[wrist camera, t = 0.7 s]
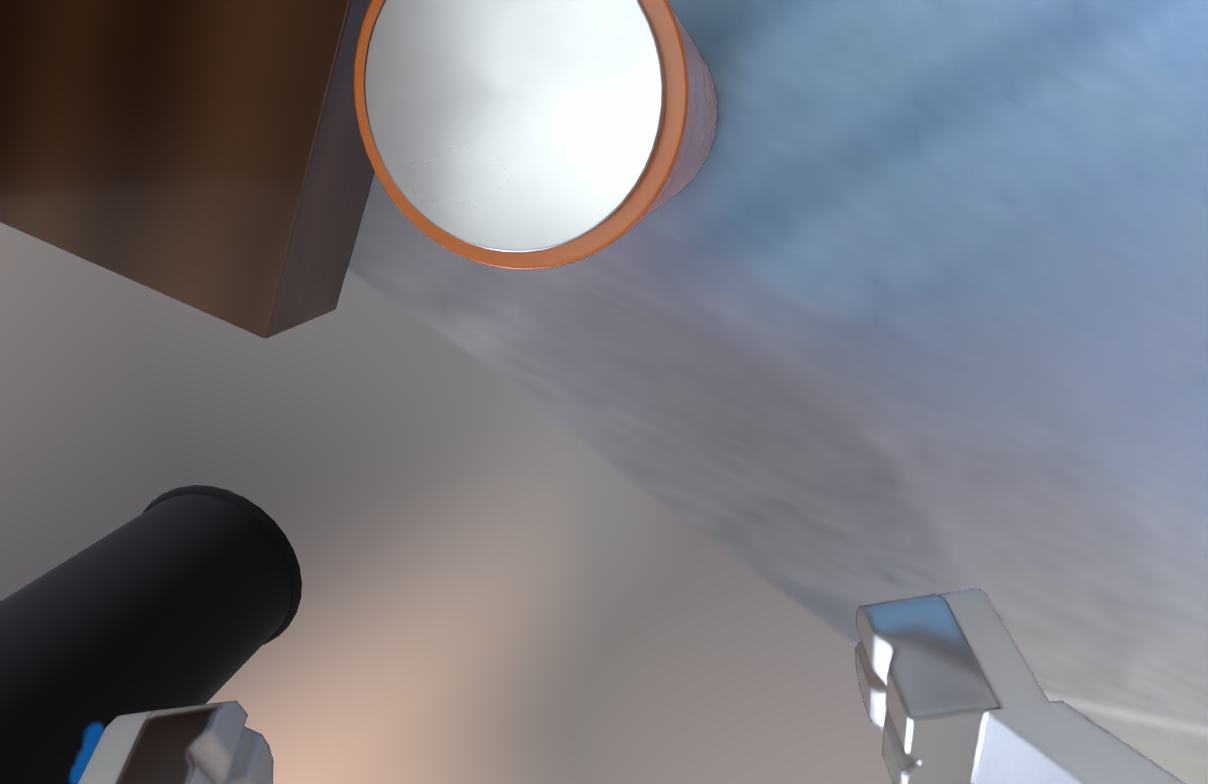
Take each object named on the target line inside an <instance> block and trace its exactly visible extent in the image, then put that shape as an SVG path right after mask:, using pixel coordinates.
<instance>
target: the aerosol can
mask: <svg viewBox="0 0 1208 784" xmlns="http://www.w3.org/2000/svg"><path fill="white" fill-rule="evenodd" d="M301 588H302V580H301V574H300V568H299V564H298V561H297V558H296V555H295V553H294V550H293V548H292V546H291V544H290V543H289V541H288V539H287V537H286V535H285V534H284V533H283V531H282V530H281V529H280V528H279V526H278V525H277V524H276V523H275V521H274V520H273V519H272V518H271V517H269V516H268V515H267V514H266V513H265V512H264V511H263V510H262V509H261V508H259V507H258V506H256V505H255V504H253V503H252V502H250V501H249V500H247V499H246V498H244V497H242V496H240V495H237V494H235V493H233V492H231V491H228V490H224V489H220V488H216V487H212V486H198V485H193V486H187V487H181V488H176V489H174V490H171V491H169V492H166V493H164V494H162V495H161V496H159V497H158V498H157V499H155V500H154V501H152V502H151V503H150V504H149V506H148V507H147V508H146V509H145V511H144V512H143V513H142V514H141V515H140V516H138V517H137V518H135V519H133V520H132V521H130V522H128V523H127V524H125V525H124V526H122V527H120V528H119V529H117V530H115V531H114V532H112V533H110V534H109V535H107V536H106V537H104V538H102V539H101V540H99V541H98V542H96V543H95V544H93V545H91V546H89V547H88V548H86V549H85V550H83V551H81V552H80V553H78V554H77V555H75V556H73V557H72V558H70V559H68V560H67V561H65V562H64V563H62V564H60V565H59V566H57V567H56V568H54V569H52V570H51V571H49V572H47V573H46V574H44V575H43V576H41V577H40V578H38V579H36V580H35V581H33V582H31V583H30V584H28V585H27V586H25V587H23V588H22V589H20V590H18V591H17V592H15V593H13V594H12V595H10V596H9V597H7V598H6V599H4V600H2V601H1V602H0V784H78V782H79V780H80V778H81V776H82V774H83V772H84V770H85V768H86V766H87V764H88V762H89V760H90V758H91V756H92V754H93V752H94V750H95V748H96V746H97V744H98V742H99V740H100V738H101V736H102V734H103V732H104V730H105V728H106V727H107V726H108V725H109V724H110V723H111V722H112V721H113V720H114V719H115V718H116V717H117V716H120V715H127V714H134V713H141V712H148V711H155V710H164V709H172V708H180V707H188V706H196V705H204V704H206V703H207V702H208V701H209V700H210V699H211V698H212V697H213V696H214V695H215V693H216V692H217V691H218V690H219V689H220V688H221V687H222V686H223V685H224V684H225V683H226V682H227V681H228V680H229V679H230V678H231V677H232V676H233V675H234V674H235V673H236V671H238V670H239V669H240V668H241V667H242V665H243V664H244V663H245V662H246V661H247V660H248V659H249V658H250V657H251V656H252V655H253V654H254V653H255V652H256V651H257V650H258V649H259V648H260V647H261V646H262V645H264V644H266V643H268V642H270V641H271V640H273V639H274V638H276V637H278V636H279V635H280V634H281V633H282V632H283V631H284V630H285V629H286V628H287V627H288V626H289V625H290V623H291V621H292V620H293V618H294V616H295V615H296V612H297V609H298V606H299V603H300V599H301Z"/></svg>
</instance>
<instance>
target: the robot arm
mask: <svg viewBox="0 0 1208 784" xmlns="http://www.w3.org/2000/svg"><path fill="white" fill-rule="evenodd" d="M856 626H857V629H858V631H859V634H860V637H861V639H862V641H861V642H860V643H859V644H858V645H857V646H856V647H855V654H856V655H855V657H856V670H857V677H858V683H859V688H860V691H861V695H862V698H863V702H864V705H865V708H866V710H867V713H868V716H869V719H870V721H871V722H872V723H873V724H875V725H876V726H877V727H878V728H880V729H881V730H882V731H883V744H882V755H883V758H884V761H885V764H886V766H887V769H888V772H889V774H890V777H891V780H892V783H893V784H1186V783H1184V782H1183V781H1181V780H1180V779H1178V778H1177V777H1175V776H1174V775H1172V774H1171V773H1169V772H1168V771H1166V770H1165V769H1163V768H1162V767H1160V766H1159V765H1157V764H1156V763H1154V762H1153V761H1151V760H1150V759H1148V758H1147V757H1146V756H1144V755H1143V754H1141V753H1140V752H1138V751H1137V750H1135V749H1134V748H1132V747H1131V746H1129V745H1128V744H1126V743H1125V742H1123V741H1122V740H1120V739H1119V738H1117V737H1116V736H1114V735H1113V734H1111V733H1110V732H1108V731H1107V730H1105V729H1104V728H1102V727H1101V726H1099V725H1098V724H1096V723H1095V722H1093V721H1092V720H1090V719H1089V718H1087V717H1086V716H1084V715H1083V714H1081V713H1080V712H1078V711H1077V710H1075V709H1074V708H1072V707H1071V706H1070V705H1068V704H1067V703H1065V702H1064V701H1051V702H1049V700H1048V699H1047V697H1046V695H1045V694H1044V692H1043V690H1042V688H1041V687H1040V685H1039V683H1038V682H1037V680H1036V678H1035V676H1034V675H1033V673H1032V671H1031V669H1030V668H1029V666H1028V664H1027V663H1026V661H1025V659H1024V657H1023V656H1022V654H1021V652H1020V650H1019V649H1018V647H1017V645H1016V644H1015V642H1014V640H1013V638H1012V637H1011V635H1010V633H1009V631H1008V630H1007V628H1006V626H1005V625H1004V623H1003V621H1002V619H1001V618H1000V616H999V614H998V613H997V611H996V609H995V607H994V606H993V604H992V602H991V600H990V599H989V597H988V595H987V594H986V593H984V592H983V591H982V590H981V589H970V590H963V591H957V592H951V593H945V594H939V595H936V594H931V595H925V596H919V597H913V598H907V599H900V600H894V601H888V602H882V603H876V604H870V605H864V606H859V608H858V610H857V616H856ZM247 716H248V714H247V713H246V712H245V710H244V709H243V708H242V707H241V705H240V704H239V703H238V702H237V701H228V702H220V703H212V704H204V705H196V706H188V707H180V708H172V709H164V710H155V711H148V712H141V713H134V714H127V715H120V716H117V717H116V718H115V719H114V720H113V721H112V722H111V723H110V724H109V725H108V726H107V727H106V728H105V730H104V732H103V734H102V736H101V738H100V740H99V742H98V744H97V746H96V748H95V750H94V752H93V754H92V756H91V758H90V760H89V762H88V764H87V766H86V768H85V770H84V772H83V774H82V776H81V778H80V780H79V782H78V784H273V757H272V754H271V751H270V747H269V745H268V743H267V742H266V740H265V738H264V737H263V735H262V734H260V733H258V732H256V731H253V730H251V729H249V728H247V727H245V726H244V725H245V722H246V719H247Z"/></svg>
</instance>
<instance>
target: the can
mask: <svg viewBox="0 0 1208 784" xmlns="http://www.w3.org/2000/svg"><path fill="white" fill-rule="evenodd" d="M354 94H355V107H356V113H357V118H358V124H359V129H360V133H361V136H362V139H363V142H364V146H365V149H366V152H367V155H368V157H369V159H370V161H371V164H372V166H373V168H374V170H375V172H376V175H377V176H378V178H379V180H380V181H381V183H382V185H383V186H384V188H385V190H386V191H387V193H388V194H389V196H390V197H391V198H392V200H393V201H394V202H395V204H396V205H397V206H398V207H399V209H400V210H401V211H402V212H403V213H404V214H405V215H406V216H407V217H408V218H409V220H410V221H411V222H412V223H413V224H414V225H415V226H416V227H418V228H419V229H420V230H421V231H422V232H424V233H425V234H426V235H427V236H429V237H430V238H431V239H432V240H434V241H435V242H437V243H439V244H440V245H442V246H444V247H445V248H447V249H448V250H450V251H452V252H454V253H456V254H458V255H461V256H463V257H465V258H467V259H469V260H472V261H476V262H479V263H482V264H485V265H489V266H494V267H499V268H505V269H517V270H535V269H545V268H553V267H557V266H561V265H565V264H569V263H572V262H575V261H578V260H580V259H583V258H585V257H588V256H590V255H592V254H594V253H596V252H598V251H599V250H601V249H603V248H605V247H607V246H608V245H610V244H611V243H613V242H614V241H615V240H617V239H618V238H619V237H621V236H622V235H623V234H625V233H626V232H627V231H629V230H630V229H631V228H632V227H634V226H635V225H636V224H638V223H639V222H640V221H642V220H643V219H644V218H645V217H647V216H648V215H649V214H651V213H652V212H653V211H655V210H656V209H657V208H658V207H660V206H661V205H662V204H664V203H665V202H666V201H668V200H669V199H670V198H671V197H673V196H674V195H675V194H677V193H678V192H679V191H681V190H682V189H683V188H684V187H685V186H686V185H687V184H688V183H689V182H690V181H691V180H692V179H693V178H694V177H695V175H696V174H697V173H698V172H699V170H700V169H701V167H702V165H703V164H704V162H705V160H706V158H707V156H708V154H709V152H710V150H711V147H712V144H713V140H714V137H715V132H716V127H717V115H718V107H717V96H716V91H715V86H714V82H713V80H712V77H711V74H710V71H709V69H708V67H707V65H706V63H705V61H704V59H703V58H702V56H701V54H700V53H699V51H698V49H697V48H696V46H695V44H694V43H693V41H692V39H691V38H690V36H689V34H688V33H687V31H686V29H685V28H684V26H683V24H682V23H681V21H680V19H679V18H678V16H677V14H676V13H675V11H674V9H673V8H672V6H671V4H670V3H669V1H668V0H372V1H371V3H370V6H369V8H368V10H367V13H366V15H365V18H364V21H363V25H362V28H361V32H360V35H359V39H358V45H357V51H356V58H355V68H354Z"/></svg>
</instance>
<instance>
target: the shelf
mask: <svg viewBox="0 0 1208 784" xmlns="http://www.w3.org/2000/svg"><path fill="white" fill-rule="evenodd" d="M371 1H372V0H0V222H1V223H4V224H6V225H8V226H11V227H13V228H16V229H17V230H20V231H22V232H24V233H26V234H29V235H31V236H33V237H36V238H38V239H40V240H42V241H45V242H47V243H49V244H51V245H54V246H56V247H58V248H60V249H63V250H65V251H67V252H70V253H72V254H74V255H76V256H79V257H81V258H83V259H85V260H88V261H90V262H92V263H95V264H97V265H99V266H101V267H104V268H106V269H108V270H110V271H113V272H115V273H117V274H120V275H122V276H124V277H126V278H129V279H131V280H133V281H136V282H138V283H140V284H142V285H145V286H147V287H149V288H151V289H154V290H156V291H158V292H161V293H163V294H165V295H167V296H170V297H172V298H174V299H177V300H179V301H181V302H183V303H186V304H188V305H190V306H192V307H194V308H197V309H199V310H201V311H204V312H206V313H208V314H210V315H213V316H215V317H217V318H220V319H222V320H224V321H226V322H229V323H231V324H233V325H235V326H238V327H240V328H242V329H245V330H247V331H249V332H252V333H254V334H256V335H258V336H260V337H263V338H268V337H270V336H273V335H275V334H278V333H280V332H283V331H285V330H287V329H290V328H292V327H295V326H297V325H299V324H302V323H304V322H307V321H309V320H311V319H314V318H316V317H319V316H321V315H323V314H326V313H328V312H331V311H333V310H335V309H336V306H337V302H338V299H339V295H340V291H341V288H342V284H343V281H344V277H345V274H346V270H347V267H348V263H349V259H350V256H351V252H352V249H353V245H354V242H355V238H356V234H357V231H358V227H359V224H360V220H361V216H362V213H363V209H364V206H365V202H366V199H367V195H368V191H369V188H370V184H371V181H372V177H373V174H374V168H373V166H372V164H371V161H370V159H369V157H368V155H367V152H366V149H365V146H364V142H363V139H362V136H361V133H360V129H359V124H358V118H357V113H356V107H355V94H354V68H355V58H356V51H357V45H358V39H359V35H360V32H361V28H362V25H363V21H364V18H365V15H366V13H367V10H368V8H369V6H370V3H371Z"/></svg>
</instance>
